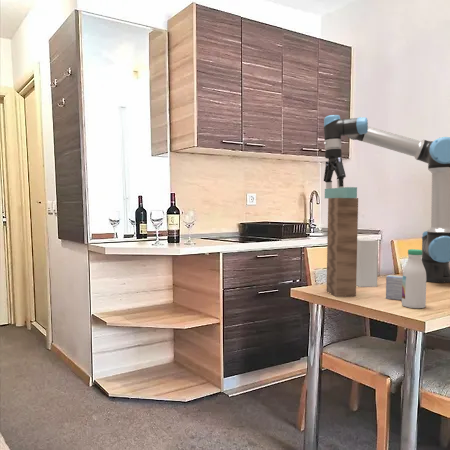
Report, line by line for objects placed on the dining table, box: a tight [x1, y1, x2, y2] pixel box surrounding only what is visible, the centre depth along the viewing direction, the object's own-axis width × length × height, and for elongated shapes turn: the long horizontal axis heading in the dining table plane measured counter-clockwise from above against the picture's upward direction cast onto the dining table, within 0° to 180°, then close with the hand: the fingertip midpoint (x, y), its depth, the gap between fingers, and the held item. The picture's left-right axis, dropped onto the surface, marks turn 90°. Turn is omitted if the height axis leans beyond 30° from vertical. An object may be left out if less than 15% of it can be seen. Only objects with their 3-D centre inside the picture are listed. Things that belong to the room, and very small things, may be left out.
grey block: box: [356, 238, 379, 288], centre depth 192 cm, size 10×8×20 cm
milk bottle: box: [401, 248, 427, 309], centre depth 152 cm, size 8×8×20 cm
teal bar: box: [324, 186, 358, 199], centre depth 173 cm, size 22×4×4 cm, turn 9°
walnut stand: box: [326, 197, 359, 298], centre depth 171 cm, size 10×8×38 cm
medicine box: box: [385, 274, 403, 301], centre depth 164 cm, size 8×4×9 cm, turn 58°
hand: (334, 195), depth 202 cm, fingers open, 13 cm apart
